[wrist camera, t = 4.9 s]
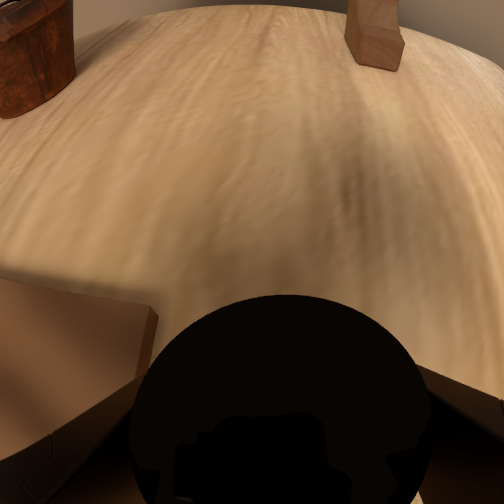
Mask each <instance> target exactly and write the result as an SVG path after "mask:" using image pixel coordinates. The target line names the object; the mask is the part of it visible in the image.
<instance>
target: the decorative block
mask: <svg viewBox="0 0 504 504" xmlns="http://www.w3.org/2000/svg"><path fill="white" fill-rule="evenodd" d="M397 7H398V0H349V5H348V13H347V20H346V28H345V35H344V37H345V39H346V41H347V43H348V45H349V47H350V49H351V51H352V53H353V55H354V57H355V59H356V62H357V63H358V64H359V65H364V66H369V67H374V68H379V69H384V70H388V71H393V72H396V71H398V68H399V65H400V61H401V57H402V53H403V49H404V45H405V42H404V40H403V38H402V36H401V34H400V29H399V24H398V11H397V10H398V9H397Z"/></svg>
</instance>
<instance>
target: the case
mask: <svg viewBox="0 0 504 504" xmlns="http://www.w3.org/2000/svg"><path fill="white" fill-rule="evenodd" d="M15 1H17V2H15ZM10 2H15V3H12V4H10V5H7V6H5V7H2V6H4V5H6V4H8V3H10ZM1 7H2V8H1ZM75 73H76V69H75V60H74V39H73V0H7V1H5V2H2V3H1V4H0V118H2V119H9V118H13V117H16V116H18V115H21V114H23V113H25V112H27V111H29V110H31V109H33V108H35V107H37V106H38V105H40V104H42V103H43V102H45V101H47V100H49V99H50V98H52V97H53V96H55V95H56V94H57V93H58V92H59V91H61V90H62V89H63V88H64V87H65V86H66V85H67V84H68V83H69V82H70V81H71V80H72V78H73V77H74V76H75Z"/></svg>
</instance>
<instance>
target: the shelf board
mask: <svg viewBox="0 0 504 504" xmlns="http://www.w3.org/2000/svg"><path fill="white" fill-rule="evenodd" d="M157 322H158V315H157V314H156V313H155V312H154V310H153V309H152V308H151V307H150V306H148V305H141V304H134V303H128V302H121V301H115V300H109V299H103V298H97V297H91V296H85V295H79V294H74V293H69V292H63V291H58V290H53V289H48V288H43V287H38V286H33V285H29V284H24V283H19V282H15V281H10V280H6V279H2V278H0V460H2V459H4V458H6V457H9V456H11V455H13V454H15V453H17V452H19V451H21V450H23V449H25V448H26V447H28V446H30V445H32V444H33V443H35V442H37V441H39V440H40V439H42V438H43V437H45V436H47V435H48V434H51V435H52V432H53V431H55V430H56V429H58V428H60V427H61V426H63V425H64V424H66V423H68V422H69V421H71V420H72V419H74V418H75V417H77V416H79V415H80V414H82V413H83V412H85V411H86V410H88V409H89V408H91V407H93V406H94V405H96V404H97V403H99V402H100V401H102V400H103V399H105V398H106V397H108V396H109V395H111V394H112V393H114V392H115V391H117V390H118V389H120V388H121V387H123V386H124V385H126V384H127V383H129V382H130V381H132V380H133V379H135V378H136V377H138V376H139V375H141V374H142V373H147V371H148V367H149V362H150V356H151V351H152V346H153V341H154V336H155V331H156V326H157Z"/></svg>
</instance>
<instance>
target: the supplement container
mask: <svg viewBox="0 0 504 504" xmlns="http://www.w3.org/2000/svg"><path fill="white" fill-rule="evenodd" d="M433 430H434V425H433V412H432V407H431V401H430V397H429V394H428V390H427V387H426V384H425V382H424V380H423V377H422V375H421V373H420V371H419V369H418V367H417V366H416V364H415V362H414V360H413V359H412V358H411V356H410V355H409V353H408V352H407V350H406V349H405V348H404V347H403V346H402V345H401V343H400V342H399V341H398V340H397V339H396V338H395V337H394V336H393V335H392V334H391V333H390V332H389V331H387V330H386V329H385V328H384V327H382V326H381V325H380V324H378V323H377V322H376V321H374V320H373V319H371V318H369V317H368V316H366V315H365V314H363V313H361V312H359V311H357V310H355V309H353V308H350V307H348V306H345V305H342V304H340V303H337V302H334V301H330V300H326V299H322V298H317V297H311V296H303V295H271V296H262V297H257V298H251V299H247V300H243V301H240V302H236V303H233V304H230V305H228V306H225V307H222V308H220V309H218V310H216V311H214V312H212V313H210V314H207V315H206V316H204V317H202V318H201V319H199V320H197V321H196V322H194V323H193V324H191V325H190V326H189V327H187V328H186V329H185V330H183V331H182V332H181V333H180V334H178V335H177V336H176V337H175V338H174V339H173V340H172V341H171V342H170V343H169V344H168V345H167V346H166V347H165V348H164V349H163V350H162V352H161V353H160V354H159V355H158V357H157V358H156V359H155V361H154V362H153V363H152V365H151V366H150V368H149V370H148V371H147V373H146V375H145V377H144V378H143V380H142V383H141V385H140V387H139V389H138V392H137V395H136V398H135V401H134V404H133V408H132V412H131V417H130V425H129V453H130V459H131V465H132V469H133V473H134V476H135V480H136V482H137V485H138V487H139V490H140V492H141V494H142V496H143V498H144V500H145V502H146V503H147V504H411V502H412V501H413V499H414V497H415V496H416V494H417V492H418V490H419V488H420V486H421V484H422V482H423V479H424V477H425V474H426V471H427V468H428V465H429V461H430V457H431V452H432V445H433Z"/></svg>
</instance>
